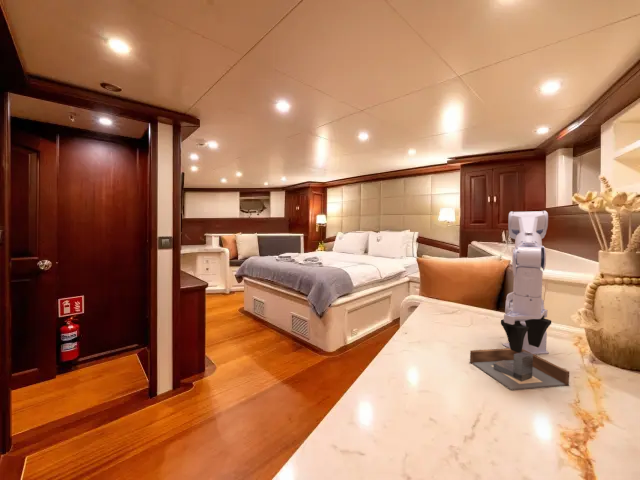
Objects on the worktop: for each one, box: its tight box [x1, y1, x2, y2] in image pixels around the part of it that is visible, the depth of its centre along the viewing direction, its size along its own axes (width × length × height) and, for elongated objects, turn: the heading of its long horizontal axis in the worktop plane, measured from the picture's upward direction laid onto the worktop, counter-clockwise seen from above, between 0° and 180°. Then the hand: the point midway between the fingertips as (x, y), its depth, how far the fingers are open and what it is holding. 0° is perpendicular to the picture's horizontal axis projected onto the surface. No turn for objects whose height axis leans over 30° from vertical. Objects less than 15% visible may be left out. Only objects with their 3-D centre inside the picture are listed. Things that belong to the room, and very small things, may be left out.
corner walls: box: [469, 347, 570, 386], centre depth 73 cm, size 16×14×3 cm
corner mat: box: [469, 360, 570, 391], centre depth 73 cm, size 16×14×1 cm
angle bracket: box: [493, 351, 533, 382], centre depth 72 cm, size 7×4×6 cm, turn 25°
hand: (525, 348), depth 69 cm, fingers open, 7 cm apart
